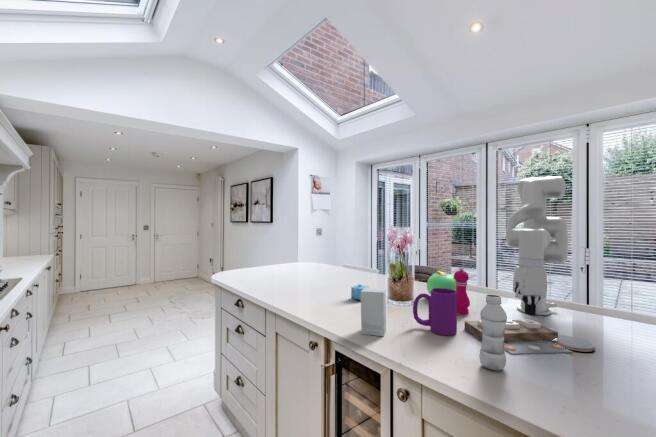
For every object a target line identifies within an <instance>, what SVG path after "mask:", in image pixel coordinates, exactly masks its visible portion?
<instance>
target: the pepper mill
mask: <svg viewBox="0 0 656 437" xmlns="http://www.w3.org/2000/svg"><path fill="white" fill-rule="evenodd" d="M453 275H454V279H455V280H456V281H455V285H456V292H457V315H461V316H463V315H466V316H467V315H468V314H469V311H470V310H469V307H470V305H471V301H470V298H469V296H468V294H467V286H468V280H469V279H470V276H469V273H468V272H467V271H465V270H464V267H463V266H460V267H459V268H458V270H456V271H455V272H454V274H453Z"/></svg>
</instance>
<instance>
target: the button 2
mask: <svg viewBox="0 0 656 437" xmlns="http://www.w3.org/2000/svg"><path fill="white" fill-rule="evenodd" d="M519 320H520V325H522V326H524V327H526V328H529V329H530V328H540V327H541V325H542V324H541V323H540V322H538V321H535V320H533V319H519Z"/></svg>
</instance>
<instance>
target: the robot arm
mask: <svg viewBox="0 0 656 437" xmlns="http://www.w3.org/2000/svg"><path fill="white" fill-rule="evenodd" d="M517 193H518V196H519V198H520V201H521V204H520V205H521V206H520V208H518V209H517V210H515V212H513V213H512V214H511V215H510V217H509V218H508V220H507V223H506V232H505V241H506V245H508V246H509V247H511V248H518V266H517V265H516V266H515V270H514V275H513V282H512V291H513V293H515V295H514V296H515V298H516V299H520V304H518V305H517V306H516V308H517V311H519V312H523V313H524V314H525V315H528V316H530V317H536V316H548V315H549V316H550V315H551V313H552V311H551V310H550V308H557V303H555V302H549V301H547V300H548V298H547V295H548V277H547V276H548V273H547V270H546V268H545V267H544V265H546V264H555V265H556V264H557V265H561V264H562V265H563V264H565V263H566V262H567V261H568V257H569V252H568V250H569V248H568V247H569V246H568V245H569V243H568V242H569V241H568V240H569V239H568V236H569V234H568V233H569V232H568V224H567V221H566V220H565V219H564V218H563V217H558V216H557V217H556V216H555V217H554V216H553V217H552V216H547V199H562V198H563V197H564V196H565V194H566V181H565V179H564V178H563V176H560V175H559V176H556V175H555V176H544V177H543V176H542V177H541V176H540V177H528V178H523V179H520V180H519V181H518V182H517ZM521 223H523V227H517V226H518V225H520V224H521ZM552 240H554V241H552Z"/></svg>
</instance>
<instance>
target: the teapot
mask: <svg viewBox="0 0 656 437" xmlns="http://www.w3.org/2000/svg"><path fill="white" fill-rule="evenodd" d="M364 288H370V287H369V286H368V285H367V286H366V285H362V284H356V285H355V286H351V290H350V292H351V295H350V298H351V299H353V301H358V300H359V301H360V302H361V291H362V290H363V289H364Z"/></svg>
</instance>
